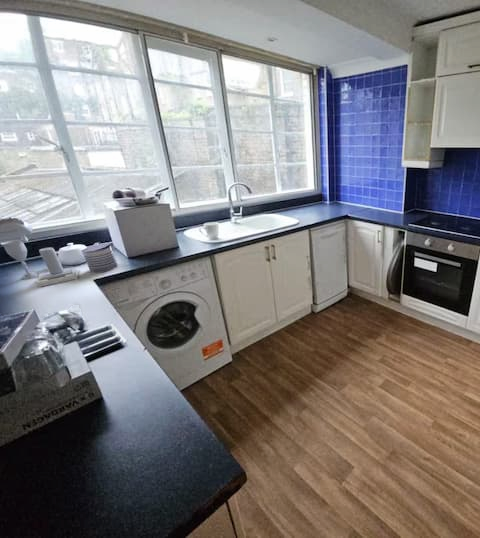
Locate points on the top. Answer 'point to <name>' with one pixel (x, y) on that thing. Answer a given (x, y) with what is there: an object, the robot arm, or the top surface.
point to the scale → (57, 277)
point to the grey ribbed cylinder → (100, 258)
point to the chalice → (18, 255)
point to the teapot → (72, 254)
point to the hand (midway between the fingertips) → (11, 243)
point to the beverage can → (51, 260)
